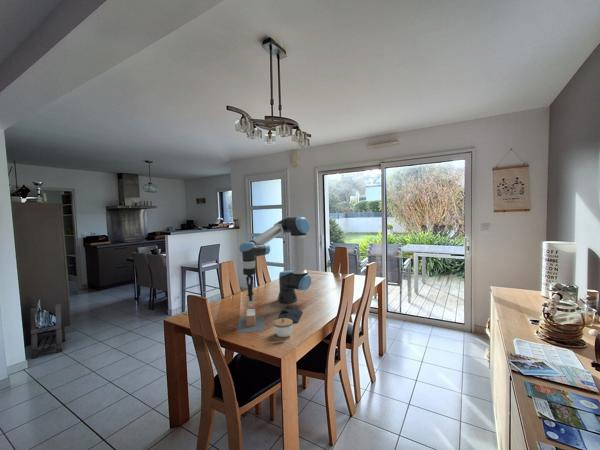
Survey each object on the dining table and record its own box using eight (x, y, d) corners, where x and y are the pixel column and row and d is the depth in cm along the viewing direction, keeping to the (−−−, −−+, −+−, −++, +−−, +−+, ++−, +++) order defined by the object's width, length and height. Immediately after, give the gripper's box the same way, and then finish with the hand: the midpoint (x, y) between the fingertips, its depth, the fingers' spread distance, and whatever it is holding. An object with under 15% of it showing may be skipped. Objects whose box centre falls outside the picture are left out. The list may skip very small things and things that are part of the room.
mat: (263, 317, 176) (263, 316, 176) (264, 331, 154) (264, 330, 154) (238, 319, 174) (238, 318, 174) (236, 333, 152) (236, 332, 152)
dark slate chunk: (273, 323, 166) (273, 316, 166) (282, 311, 188) (281, 304, 188) (298, 324, 164) (298, 316, 163) (303, 311, 185) (303, 305, 185)
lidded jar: (273, 332, 153) (273, 315, 153) (292, 330, 154) (292, 314, 154) (273, 340, 142) (273, 323, 142) (293, 339, 143) (293, 322, 143)
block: (255, 325, 162) (255, 318, 173) (254, 315, 161) (255, 308, 173) (246, 326, 161) (247, 318, 173) (246, 316, 161) (247, 309, 172)
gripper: (243, 266, 170) (245, 302, 171) (242, 270, 157) (244, 310, 158) (255, 265, 171) (257, 301, 172) (255, 269, 158) (257, 308, 159)
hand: (250, 305), depth 165 cm, fingers closed
